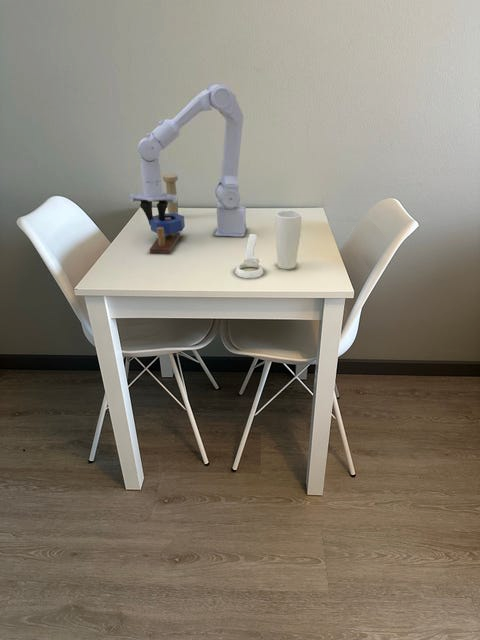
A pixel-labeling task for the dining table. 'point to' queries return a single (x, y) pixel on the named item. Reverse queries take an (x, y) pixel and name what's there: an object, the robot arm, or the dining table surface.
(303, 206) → the dining table surface
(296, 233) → the drinking glass
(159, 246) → the rack
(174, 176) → the handle
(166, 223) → the ring
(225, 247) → the dining table surface
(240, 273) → the white stemmed ring
